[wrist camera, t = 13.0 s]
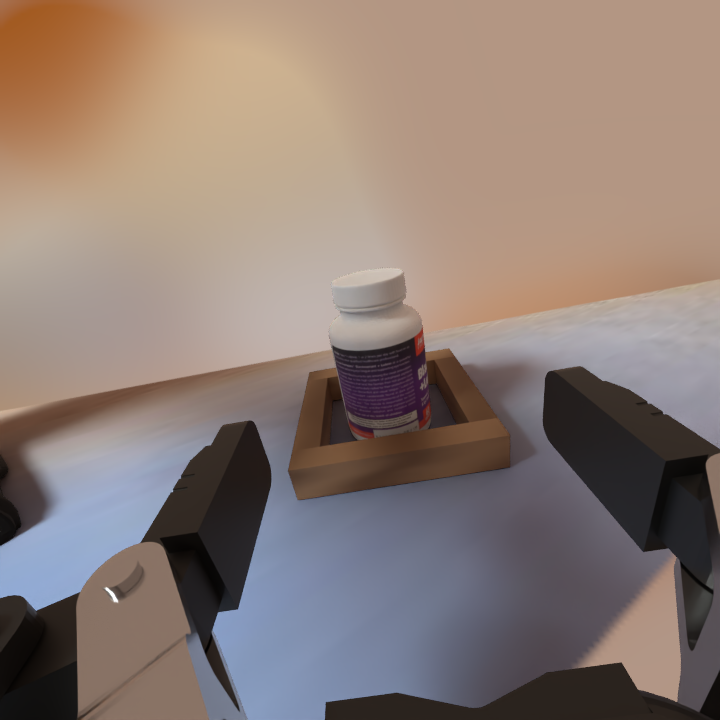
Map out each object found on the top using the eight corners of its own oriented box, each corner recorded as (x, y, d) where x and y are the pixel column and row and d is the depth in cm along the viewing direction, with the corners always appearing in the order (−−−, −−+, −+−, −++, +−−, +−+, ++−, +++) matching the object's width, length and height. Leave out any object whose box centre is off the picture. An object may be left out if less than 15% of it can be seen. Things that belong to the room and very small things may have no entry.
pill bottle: (446, 437, 21) (432, 273, 17) (358, 461, 20) (322, 297, 16) (415, 394, 25) (399, 259, 21) (344, 412, 25) (313, 277, 21)
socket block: (297, 500, 18) (288, 470, 17) (315, 394, 28) (309, 372, 27) (509, 466, 18) (510, 435, 17) (450, 371, 28) (449, 348, 27)
